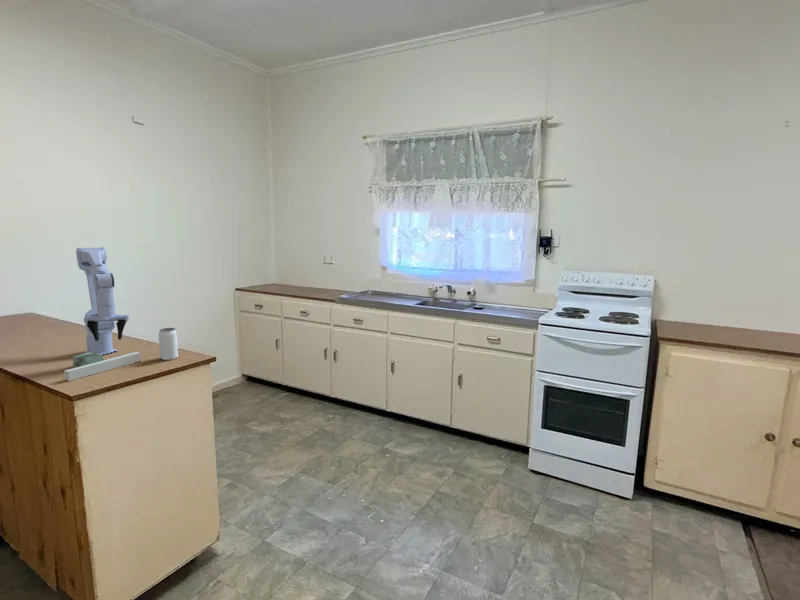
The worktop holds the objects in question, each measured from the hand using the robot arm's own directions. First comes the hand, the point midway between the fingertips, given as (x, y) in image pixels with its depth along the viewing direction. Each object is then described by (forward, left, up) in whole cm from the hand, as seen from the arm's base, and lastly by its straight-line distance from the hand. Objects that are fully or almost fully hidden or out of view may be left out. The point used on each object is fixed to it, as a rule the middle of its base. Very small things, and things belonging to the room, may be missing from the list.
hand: (108, 339), depth 172 cm
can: (+15, +14, -9) cm, 23 cm away
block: (-2, -7, -9) cm, 12 cm away
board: (+8, -7, -9) cm, 14 cm away
